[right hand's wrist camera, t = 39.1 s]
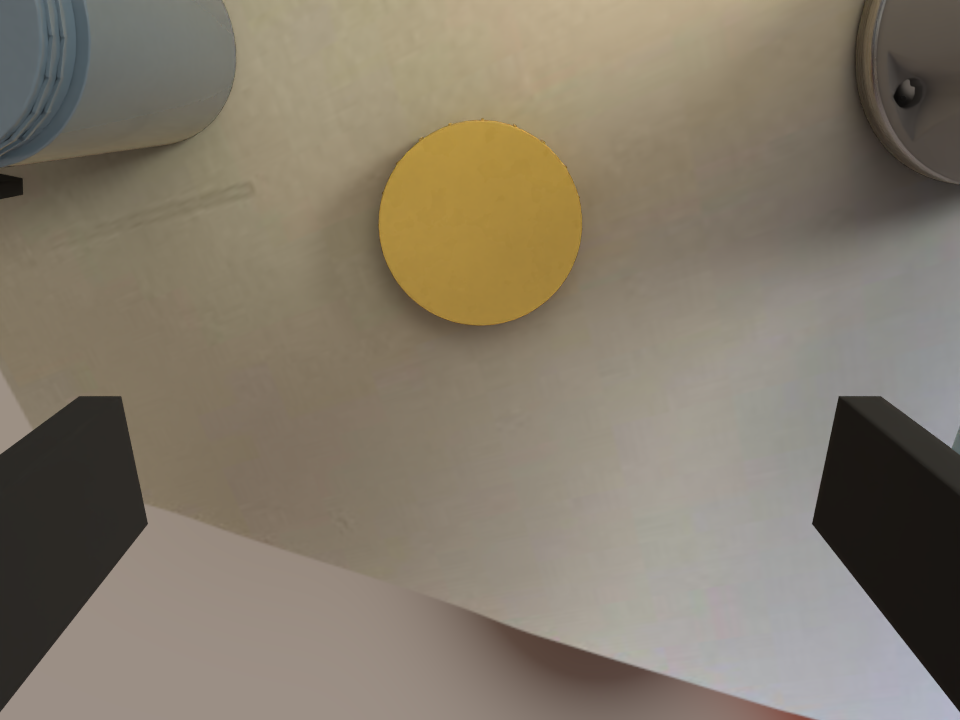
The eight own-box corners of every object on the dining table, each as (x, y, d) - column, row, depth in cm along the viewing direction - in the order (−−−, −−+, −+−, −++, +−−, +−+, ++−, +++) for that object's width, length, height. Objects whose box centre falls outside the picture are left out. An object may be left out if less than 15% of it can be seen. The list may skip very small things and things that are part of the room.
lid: (343, 219, 37) (335, 226, 35) (483, 73, 35) (483, 71, 33) (477, 350, 40) (477, 363, 38) (616, 224, 38) (624, 232, 36)
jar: (274, 89, 35) (123, 81, 20) (120, 178, 37) (-122, 231, 22) (158, -112, 32) (-119, -295, 17) (-4, -5, 34) (-386, -88, 19)
